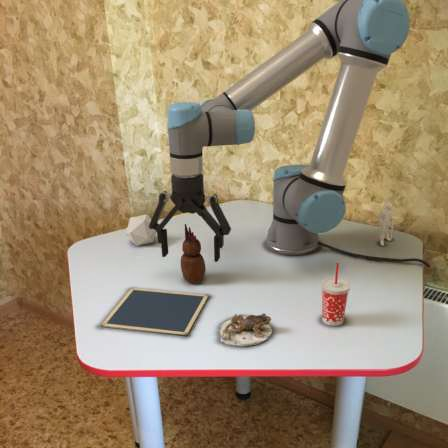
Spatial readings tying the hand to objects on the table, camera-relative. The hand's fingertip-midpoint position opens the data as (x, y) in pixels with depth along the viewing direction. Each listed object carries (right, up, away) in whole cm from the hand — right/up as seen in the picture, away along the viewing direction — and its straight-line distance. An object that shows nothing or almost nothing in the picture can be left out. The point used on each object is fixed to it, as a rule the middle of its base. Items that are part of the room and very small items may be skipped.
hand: (191, 257), depth 134 cm
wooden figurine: (+1, -6, +3) cm, 7 cm away
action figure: (+55, +6, +22) cm, 60 cm away
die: (-16, +6, +26) cm, 31 cm away
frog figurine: (+13, -18, -18) cm, 29 cm away
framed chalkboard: (-7, -13, -10) cm, 18 cm away
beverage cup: (+32, -15, -15) cm, 39 cm away
